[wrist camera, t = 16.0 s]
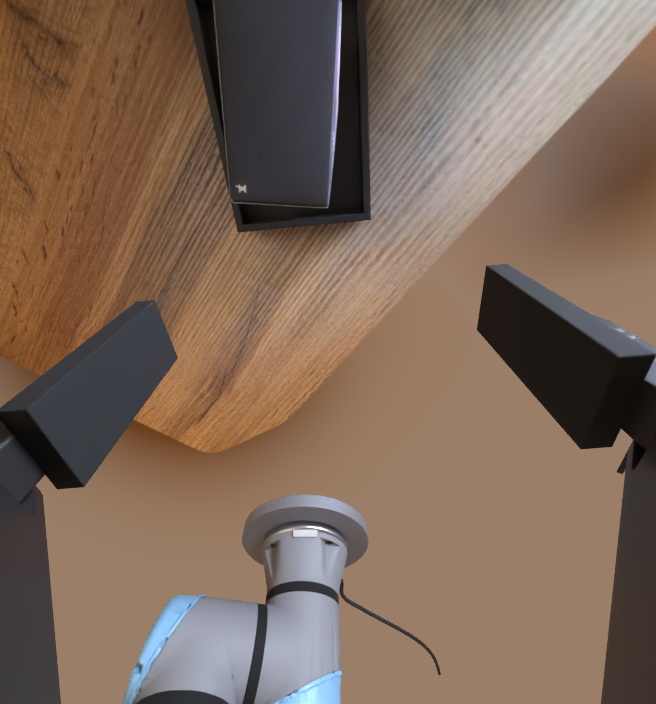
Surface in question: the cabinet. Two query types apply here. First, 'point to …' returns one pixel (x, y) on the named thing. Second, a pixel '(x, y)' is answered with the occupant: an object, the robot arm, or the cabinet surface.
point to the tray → (351, 129)
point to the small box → (279, 98)
